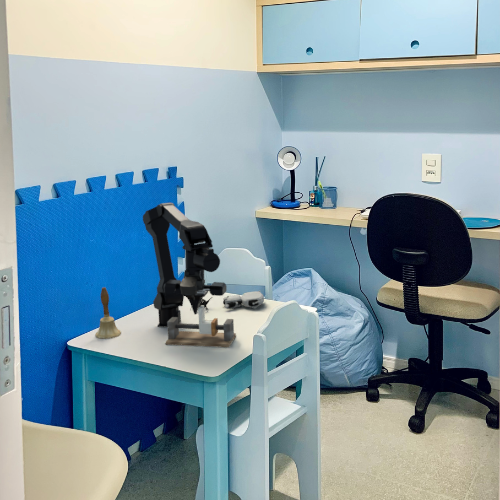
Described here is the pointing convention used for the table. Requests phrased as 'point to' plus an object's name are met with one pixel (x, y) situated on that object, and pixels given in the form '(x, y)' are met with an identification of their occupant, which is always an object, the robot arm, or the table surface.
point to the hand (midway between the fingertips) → (195, 314)
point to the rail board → (200, 339)
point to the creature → (204, 303)
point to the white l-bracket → (203, 322)
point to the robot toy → (244, 300)
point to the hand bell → (107, 320)
